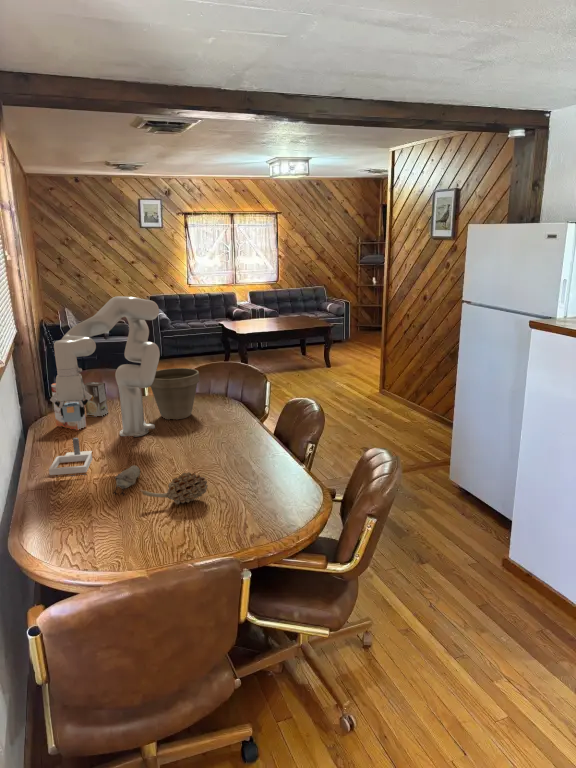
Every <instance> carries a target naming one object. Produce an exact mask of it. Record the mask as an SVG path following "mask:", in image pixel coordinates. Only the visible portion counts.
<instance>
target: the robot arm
mask: <svg viewBox="0 0 576 768" xmlns="http://www.w3.org/2000/svg"><path fill="white" fill-rule="evenodd" d="M159 313H160V308H159V306H158V304H157V303H156V302H155V301H153V300H152V299H151V300H150V299H144V298H140V297H135V296H121V295H120V296H118V295H117V296H114V297H111V298H110V299H109V300H108V301H107V302H106V303H105V304H104V305H103V306H102V307H101V308H100V309H99V310H98V311H97V312H96V313H95V314H94V315H92V316H91V317H88V318H87V319H85V320H83V321H81V322H79V323H77V324H75V325H74V326H72V327H71V328H70V329H69V330H68V331H67V332H66V333H65V334H64V335H63V336H62V338H61V339H59V340H56V341H55V342H54V344H53V349H54V357H55V365H56V371H57V372H56V374H57V375H56V377H55V383H56V393H55V394H54V395H52V396H51V398H50V399H49V401H50V402H52V403H53V404H54V403H55V405H57V406H58V407H59V408H60V410H61V416H63V409H62V407H63V406H64V403H65V401H78V402H79V404H80V415H81V417H83V415H84V414H85V415H86V407H85V404H86V403H87V402H88V401H89V400H90V399H91V398H92V396H91V395H90V394H89V393H88V392H86V391H85V388H84V384H85V383H84V381H83V376H82V374H81V372H83V369H82V367H79V365H78V360H77V358H79V357H88V356H91V355H92V354H93V353H95V351H96V349H97V345H96V341H94V339H93V338H92V337H94V336H98V335H99V336H100V335H102V334H106V333H108V332H110V331H111V330H113V328H114V327H115V325H116V324H117V323H119V321H121V319H122V318H126V320H127V322H128V326H129V331H128V335H127V339H126V340H127V341H126V344H125V349H124V358H125V359H126V360H127V361H129V362H132V363H139V364H140V365H138V364H130V363H129V364H128V363H126V364H120V365H119V366H118V367H117V368H116V371H115V382H116V384H117V388H118V392H119V393H118V394H119V403H120V413H121V422H122V423H121V424H122V429H121V430H119V435H120V436H121V437H132V436H133V438H137V437H138V438H139V437H142V436H145V435H148V434H149V430H150V429H151V430H152V429H153V430H155V429H156V427H155V426H156V425H155V424H153V423H147V422H146V420H145V418H144V416H145V415H144V405H143V404H144V403H143V393H142V390H141V388H142V389H146V388H149V387H150V386H151V385H152V383H153V381H154V378H155V375H156V371H158V370H157V369H158V366H159V360H160V357H161V356H160V355H161V353H160V348H159V346H158V344H156V343H155V342H152V341H149V340H148V339H149V335H150V329H149V326H148V324H147V323H148V322H147V321H152V320H156V319H157V317H158V316H159ZM150 388H151V387H150ZM85 396H86V397H87V398H86V399H84V397H85ZM56 397H57V400H58V401H57V400H56V399H55V398H56ZM83 400H84V401H83ZM59 401H61V402H59ZM63 418H64V416H63Z"/></svg>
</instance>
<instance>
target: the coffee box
mask: <svg viewBox="0 0 576 768" xmlns="http://www.w3.org/2000/svg"><path fill="white" fill-rule="evenodd" d="M84 388H85V391H86V392H88V393H89V394H90V395H91V396H92V398H91V399H90V400H89V401H88V402H87V403H86V404H85V405H84V408H85V416H87V415H94V416H93V417H97V416H102V417H104V416H106V415H108V414H109V408H108V399H107V398H108V397H107V390H106V389H107V388H106V383H105V382H96V381H95V382H94V381H89V382H86V383H84ZM86 398H87V397H86V396H85V397H84V398H83V400H85V399H86ZM107 413H108V414H107ZM105 414H106V415H105ZM103 415H104V416H103Z"/></svg>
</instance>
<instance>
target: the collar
mask: <svg viewBox="0 0 576 768" xmlns="http://www.w3.org/2000/svg"><path fill="white" fill-rule="evenodd" d="M62 409H63V416H64V422H72V421H81V419H82V417H81V415H80V404H79V402H71V403H65V404H64V406H63V407H62Z"/></svg>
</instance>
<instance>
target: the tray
mask: <svg viewBox="0 0 576 768" xmlns="http://www.w3.org/2000/svg"><path fill="white" fill-rule="evenodd" d="M92 461H93V453H91V454H82V455H68V456H65V455H57V456H56V457H55V458H54V460H53V462H52V464H51V465H50V467H49V468H48V473H49V476H56V475H58V476H59V475H60V476H61V475H69V474H70V476H71V477H76V476H75V475H76V474H82V475H84V476H88V473H87V472H88V469H89V467H90V465H91V463H92ZM71 462H72V463H74V462H84V464H83V465H76V466H63V467H61V466H60V467H59V465H60V463H71ZM84 473H87V474H84ZM71 474H73V475H71Z"/></svg>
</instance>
